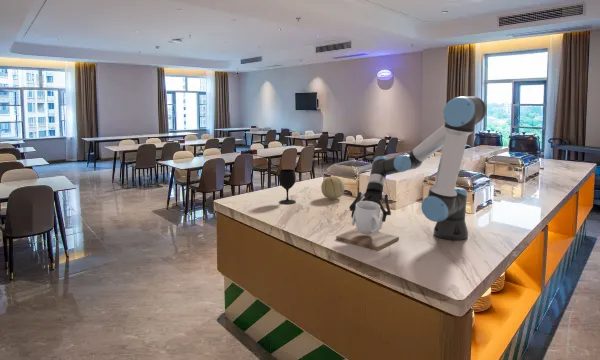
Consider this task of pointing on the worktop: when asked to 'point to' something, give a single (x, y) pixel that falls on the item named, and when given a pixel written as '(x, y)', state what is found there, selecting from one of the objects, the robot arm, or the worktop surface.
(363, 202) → the mug
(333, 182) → the cantaloupe
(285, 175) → the wine glass
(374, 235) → the serving board
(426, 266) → the worktop surface
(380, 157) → the robot arm
